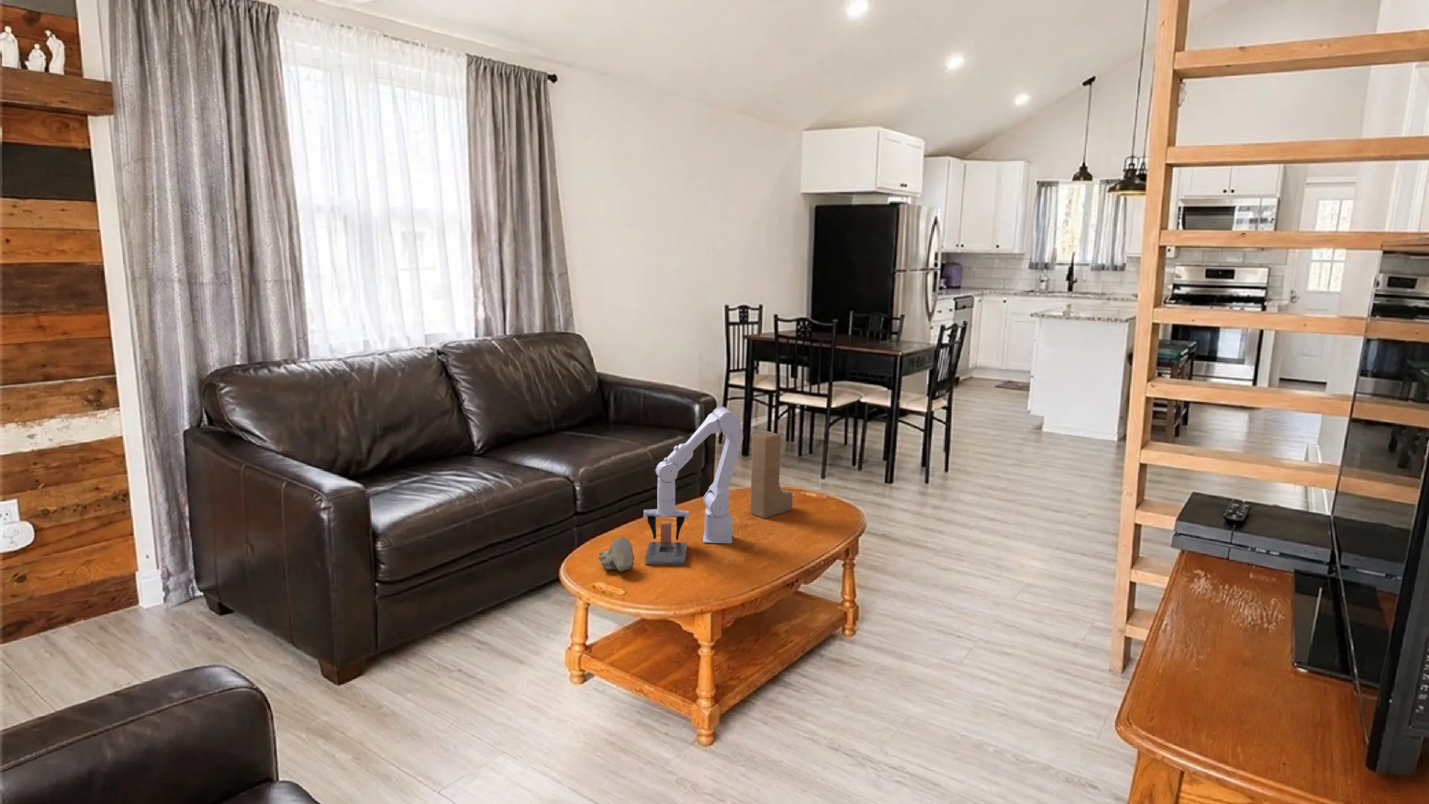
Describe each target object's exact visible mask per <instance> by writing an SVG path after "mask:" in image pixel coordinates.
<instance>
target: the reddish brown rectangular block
mask: <svg viewBox="0 0 1429 804" xmlns="http://www.w3.org/2000/svg"><path fill="white" fill-rule="evenodd" d="M660 542H672V521H661V523H660Z"/></svg>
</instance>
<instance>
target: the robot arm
mask: <svg viewBox="0 0 1429 804" xmlns="http://www.w3.org/2000/svg"><path fill="white" fill-rule="evenodd" d="M742 430H743V429H742V425H741V420H740V419H739V417H738V416H737V415H736V414H735V413H734V412H732V411H731V410H729V409H728V408H727V407H725V406H717V407H716V408H715V409H713V411H712V412H711V413H709V414H708V415H707V417H706V418H705V419H704V421H703V422H702V423H701V424H700V426H698V428H697V430H695V432H694V433H693V434H692V435H691V436H690V438H688V440H687V441H686V442H685V443H679V444H678V445H675V446H674V447H673V450H672V452H671V453H670V454H669V455H668V456H667V457H664V459H663V461H660V462H659V463H658V464H657V465H656V468H655V469H654V471H655V474H656V476H657V484H656V485H657V489H656V491H657V492H656V493H657V497H656V498H657V500H656V501H657V502H656V503H657V504H656V505H657V508H654V509H643V518H646V521H647V523H648V525H649V527H650V530H651V532H652V537H653V540H656V539H657V518H676V521H675V523H676V533H675V540H679V536H680V532H681V529H682V526H683V525H684V522H685V519H689V513H690V511H689V510H682V509H676V479H677V478H678V474H679V471H680V470H681V469H682V468H683V467H684V466H685V465H686V464H687V463H688V462H689V461H690V460H691V459H692V458H693V456H694V451H695V449H696V448H697V447H698V446H699V445H701V444H702V443H703V442H704V441H705V440H706V439H707V438H708V437H709V436H710V435H712V434H721V433H723V435H724V436H725V441H724V444H723V447H722V448H723V449H722V452H721V455H720V459H719V462H718V466H717V468H716V473H715V476H714V480H713V482H712V483H711V485H709V487H708V490H707V491H706V493H705V494H704V496H703V499H702V500H703V501H702V502H703V504H704V506H705V507H706V508H705V510H704V533H703V536H702V537H703V538H702V543H704V544H733V536H734V530H733V514H732V513H728V512H729V509H730V505H729V499H730V492H729V487H730V483H731V482H732V477H733V473H734V471H735V468H736V464H737V460H738V457H739V453H740V449H741V447H742V443H743V441H744V433H743V431H742Z"/></svg>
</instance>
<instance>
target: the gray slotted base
mask: <svg viewBox="0 0 1429 804" xmlns="http://www.w3.org/2000/svg"><path fill="white" fill-rule="evenodd" d="M687 544H688V543H687V542H674V541H673V542H672V541H671V542H661V541H648V546H647V549H646V554H645V559H644V561H645V562H644V563H645V565H660V566H661V565H662V566H663V565H665V566H666V565H667V566H685V565H686V558H687V550H688V547H687V546H688V545H687Z"/></svg>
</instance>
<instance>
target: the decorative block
mask: <svg viewBox="0 0 1429 804" xmlns="http://www.w3.org/2000/svg"><path fill="white" fill-rule="evenodd" d="M751 436H752V440H751V442H752V443H751V446H752V447H751V474H750V475H751V478H750V479H751V480H750V514H751V515H754V516H757V517H760V518H762V519H767V518H771V517H774V516H777V515H780V514H783V513H786V512H787V513H788V512H789V511H792V509H793V499H794V498H793V492H792V491H789V490H786V489H783V488H782V487H781V485H780V471H781V469H780V468H781V444H782V442H781V441H782V436H781V434H779V433H775V432H771V431H768V430H765V431H760V432H755V433H753V434H752V435H751Z"/></svg>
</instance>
